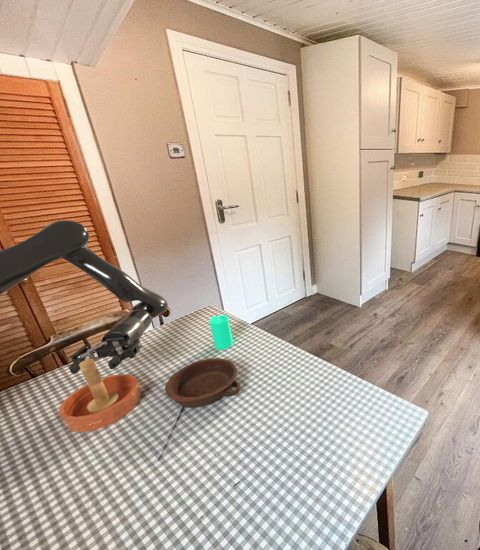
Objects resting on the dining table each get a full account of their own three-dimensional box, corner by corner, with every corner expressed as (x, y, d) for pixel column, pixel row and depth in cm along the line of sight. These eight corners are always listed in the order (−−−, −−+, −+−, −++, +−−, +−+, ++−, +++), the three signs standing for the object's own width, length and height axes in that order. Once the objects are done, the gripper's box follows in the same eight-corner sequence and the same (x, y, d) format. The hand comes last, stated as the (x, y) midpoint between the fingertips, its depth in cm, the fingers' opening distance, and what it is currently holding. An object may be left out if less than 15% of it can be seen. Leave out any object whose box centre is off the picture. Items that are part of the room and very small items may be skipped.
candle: (211, 348, 105) (204, 318, 101) (221, 338, 111) (215, 310, 106) (226, 350, 104) (220, 320, 100) (236, 340, 110) (230, 311, 105)
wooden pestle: (83, 418, 77) (62, 372, 71) (99, 399, 83) (80, 356, 77) (112, 414, 78) (93, 369, 72) (125, 396, 84) (108, 353, 78)
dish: (219, 421, 77) (215, 406, 75) (147, 407, 81) (141, 393, 79) (256, 375, 92) (254, 362, 91) (194, 365, 97) (191, 353, 95)
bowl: (50, 439, 72) (41, 424, 70) (91, 392, 86) (85, 378, 84) (123, 428, 75) (117, 413, 73) (152, 384, 89) (147, 371, 87)
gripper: (94, 325, 88) (52, 360, 74) (148, 320, 91) (118, 353, 76) (102, 347, 91) (64, 384, 76) (154, 341, 94) (127, 376, 79)
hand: (91, 368), depth 76 cm, fingers open, 8 cm apart
